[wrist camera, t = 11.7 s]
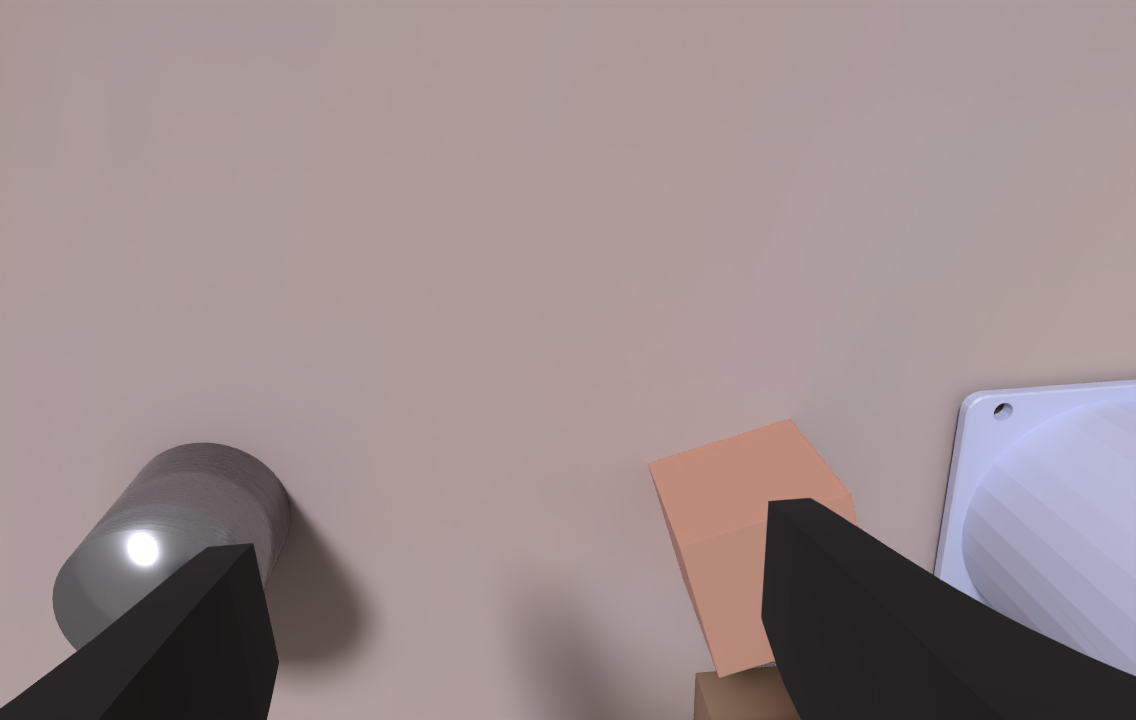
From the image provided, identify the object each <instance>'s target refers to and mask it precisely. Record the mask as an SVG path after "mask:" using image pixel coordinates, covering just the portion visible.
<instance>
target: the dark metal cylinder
mask: <svg viewBox="0 0 1136 720" xmlns="http://www.w3.org/2000/svg"><path fill="white" fill-rule="evenodd" d="M290 521H291V510H290V504H289V500H288V496H287V494H286V492H285V489H284V487H283V486H282V484H281V482H280V481H279V479H278V478H277V477H276V476H275V474H274V473H273V472H272V471H271V470H270V469H269V468H268V467H267V466H266V465H265V464H263V463H262V462H261V461H259V460H258V459H256V458H255V457H253V456H251V455H250V454H248V453H246V452H243V451H241V450H239V449H236V448H233V447H230V446H226V445H221V444H214V443H192V444H185V445H181V446H177V447H174V448H172V449H169V450H167V451H165V452H163V453H161V454H159V455H158V456H156V457H155V458H154V459H152V460H151V461H150V462H149V463H148V464H147V465H146V466H145V467H144V468H143V469H142V470H141V472H140V473H139V474H138V475H137V476H136V478H135V479H134V480H133V481H132V482H131V484H130V485H129V486H128V487H127V488H126V490H125V491H124V492H123V493H122V495H121V496H120V497H119V498H118V499H117V501H116V502H115V503H114V504H113V505H112V507H111V508H110V509H109V510H108V511H107V513H106V514H105V515H104V516H103V517H102V519H101V520H100V521H99V522H98V523H97V525H96V526H95V527H94V528H93V529H92V531H91V532H90V533H89V534H88V535H87V537H86V538H85V539H84V540H83V542H82V543H81V544H80V545H79V546H78V548H77V549H76V550H75V551H74V552H73V554H72V555H71V556H70V557H69V558H68V560H67V561H66V562H65V564H64V565H63V567H62V568H61V569H60V571H59V574H58V576H57V578H56V581H55V584H54V588H53V609H54V613H55V617H56V620H57V622H58V625H59V627H60V629H61V631H62V632H63V634H64V636H65V637H66V639H67V640H68V641H69V642H70V644H71V645H72V646H73V647H74V648H75V649H76V650H77V651H78V650H80V649H81V648H82V647H84V646H85V645H86V644H87V643H89V642H90V641H91V640H92V639H94V638H95V637H96V636H97V635H99V634H100V633H101V632H102V631H104V630H105V629H106V628H107V627H109V626H110V625H111V624H112V623H113V622H115V621H116V620H117V619H118V618H120V617H121V616H122V615H123V614H124V613H126V612H127V611H128V610H129V609H131V608H132V607H133V606H134V605H136V604H137V603H138V602H139V601H140V600H142V599H143V598H144V597H145V596H146V595H148V594H149V593H150V592H151V591H153V590H154V589H155V588H156V587H157V586H159V585H160V584H161V583H162V582H163V581H165V580H166V579H167V578H168V577H169V576H171V575H172V574H173V573H174V572H176V571H177V570H178V569H179V568H180V567H182V566H183V565H184V564H185V563H187V562H188V561H189V560H191V559H192V558H193V557H194V556H196V555H197V554H198V553H200V552H201V551H203V550H204V549H205V548H207V547H211V546H223V545H235V544H247V543H254V548H255V553H256V557H257V562H258V567H259V571H260V576H261V581H262V585H263V590H264V589H265V586H266V584H267V582H268V579H269V577H270V574H271V572H272V570H273V567H274V565H275V563H276V560H277V558H278V555H279V553H280V551H281V548H282V546H283V543H284V541H285V539H286V536H287V534H288V531H289V527H290Z"/></svg>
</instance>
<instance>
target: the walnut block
mask: <svg viewBox="0 0 1136 720" xmlns="http://www.w3.org/2000/svg"><path fill="white" fill-rule="evenodd" d="M694 720H801V719H800V717H799V715H798V713H797V710H796V708H795V706H794V704H793V702H792V700H791V698H790V696H789V694H788V692H787V690H786V688H785V685H784V683H783V681H782V678H781V675H780V673H779V670H778V667H777V666H774V667H762V668H750V669H747V670H743V671H740V672H737V673H733V674H730V675H727V676H724V677H720V678H719V677H718V674H717V671H715V672H703V673H696V679H695V701H694Z"/></svg>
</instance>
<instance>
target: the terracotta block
mask: <svg viewBox="0 0 1136 720" xmlns="http://www.w3.org/2000/svg"><path fill="white" fill-rule="evenodd" d="M648 465H649V469H650V472H651V475H652V478H653V482H654V485H655V488H656V491H657V495H658V498H659V501H660V505H661V508H662V511H663V514H664V518H665V521H666V524H667V528H668V531H669V534H670V537H671V541H672V544H673V547H674V551H675V554H676V557H677V560H678V564H679V567H680V570H681V573H682V577H683V580H684V583H685V585H686V588H687V591H688V594H689V596H690V599H691V602H692V605H693V607H694V610H695V613H696V616H697V619H698V621H699V624H700V627H701V630H702V632H703V635H704V638H705V641H706V643H707V646H708V649H709V652H710V654H711V657H712V660H713V663H714V665H715V668H716V671H717V674H718V677H719V678H720V677H724V676H727V675H730V674H733V673H737V672H740V671H743V670H747V669H750V668H753V667H756V666H760V665H763V664H766V663H769V662H773V661H775V659H774V656H773V653H772V650H771V647H770V644H769V641H768V638H767V635H766V632H765V629H764V626H763V622H762V619H761V609H762V594H763V578H764V562H765V546H766V531H767V515H768V501H775V500H787V499H800V498H812V499H813V500H815V501H817V502H819V503H821V504H822V505H824V506H826V507H827V508H829V509H830V510H832V511H834V512H835V513H837V514H838V515H840V516H841V517H843V518H845V519H846V520H848V521H849V522H851V523H852V524H854V525H855V526H857V522H856V517H855V512H854V507H853V502H852V497H851V494H850V492H849V491H848V490H847V489H846V487H845V486H844V485H843V484H842V482H841V481H840V480H839V479H838V477H837V476H836V475H835V474H834V473H833V471H832V470H831V469H830V468H829V466H828V465H827V464H826V463H825V461H824V460H823V459H822V458H821V456H820V455H819V454H818V453H817V451H816V450H815V449H814V448H813V446H812V445H811V444H810V443H809V442H808V440H807V439H806V438H805V437H804V435H803V434H802V433H801V432H800V430H799V429H798V428H797V427H796V425H795V424H794V423H793V422H792V420H791V419H787V420H784V421H781V422H777V423H774V424H771V425H768V426H765V427H762V428H758V429H755V430H752V431H749V432H746V433H742V434H739V435H736V436H733V437H730V438H727V439H723V440H720V441H717V442H714V443H711V444H707V445H704V446H701V447H698V448H695V449H692V450H688V451H685V452H682V453H679V454H676V455H673V456H669V457H666V458H663V459H660V460H657V461H653V462H650V463H648Z"/></svg>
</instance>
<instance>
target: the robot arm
mask: <svg viewBox="0 0 1136 720" xmlns="http://www.w3.org/2000/svg"><path fill="white" fill-rule="evenodd" d="M1003 403H1004V406H1003V409H1002V410H1001V411H1000V412H999V413H997V414H994V411H995V409H996V407H997V406H999V405H1000V404H1003ZM761 619H762V622H763V626H764V629H765V632H766V635H767V638H768V641H769V644H770V647H771V650H772V653H773V656H774V659H775V661H776V664H777V667H778V670H779V673H780V675H781V678H782V681H783V683H784V685H785V688H786V690H787V692H788V694H789V696H790V698H791V700H792V702H793V704H794V706H795V708H796V710H797V713H798V715H799V717H800V719H801V720H1136V380H1123V381H1110V382H1096V383H1082V384H1069V385H1055V386H1041V387H1028V388H1014V389H1000V390H986V391H978V392H974V393H972V394H971V395H969V396H968V397H967V398H966V399H965V400H964V401H963V403H962V405H961V408H960V412H959V419H958V425H957V432H956V438H955V444H954V451H953V457H952V463H951V470H950V476H949V482H948V489H947V495H946V501H945V508H944V514H943V521H942V527H941V533H940V540H939V546H938V552H937V559H936V565H935V571H934V575H933V574H931V573H929V572H928V571H926V570H924V569H923V568H921V567H919V566H918V565H916V564H915V563H913V562H911V561H910V560H908V559H907V558H905V557H903V556H902V555H900V554H899V553H897V552H896V551H894V550H892V549H891V548H889V547H888V546H886V545H885V544H883V543H882V542H880V541H878V540H877V539H875V538H874V537H872V536H871V535H869V534H868V533H866V532H865V531H863V530H862V529H860V528H858V527H857V526H855V525H854V524H852V523H851V522H849V521H848V520H846V519H845V518H843V517H841V516H840V515H838V514H837V513H835V512H834V511H832V510H830V509H829V508H827V507H826V506H824V505H822V504H821V503H819V502H817V501H815V500H813V499H812V498H800V499H787V500H775V501H768V515H767V531H766V546H765V562H764V578H763V594H762V609H761ZM278 664H279V660H278V655H277V651H276V646H275V641H274V637H273V632H272V627H271V623H270V618H269V613H268V609H267V604H266V599H265V595H264V590H263V585H262V581H261V576H260V571H259V567H258V562H257V557H256V553H255V548H254V543H247V544H235V545H223V546H211V547H207V548H205V549H204V550H203V551H201V552H200V553H198V554H197V555H196V556H194V557H193V558H192V559H191V560H189V561H188V562H187V563H185V564H184V565H183V566H182V567H180V568H179V569H178V570H177V571H176V572H174V573H173V574H172V575H171V576H169V577H168V578H167V579H166V580H165V581H163V582H162V583H161V584H160V585H159V586H157V587H156V588H155V589H154V590H153V591H151V592H150V593H149V594H148V595H146V596H145V597H144V598H143V599H142V600H140V601H139V602H138V603H137V604H136V605H134V606H133V607H132V608H131V609H129V610H128V611H127V612H126V613H124V614H123V615H122V616H121V617H120V618H118V619H117V620H116V621H115V622H113V623H112V624H111V625H110V626H109V627H107V628H106V629H105V630H104V631H102V632H101V633H100V634H99V635H97V636H96V637H95V638H94V639H92V640H91V641H90V642H89V643H87V644H86V645H85V646H84V647H82V648H81V649H80V650H78V651H77V652H76V653H74V654H73V655H72V656H70V657H69V658H68V659H66V660H65V661H64V662H62V663H61V664H60V665H58V666H57V667H56V668H54V669H53V670H52V671H50V672H49V673H48V674H46V675H45V676H44V677H42V678H41V679H40V680H38V681H37V682H36V683H34V684H33V685H32V686H30V687H29V688H28V689H26V690H25V691H24V692H23V693H21V694H20V695H19V696H17V697H16V698H14V699H13V700H12V701H10V702H9V703H7V704H6V705H5V706H3V707H2V708H0V720H267V716H268V712H269V708H270V703H271V699H272V694H273V689H274V684H275V679H276V674H277V669H278Z"/></svg>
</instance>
